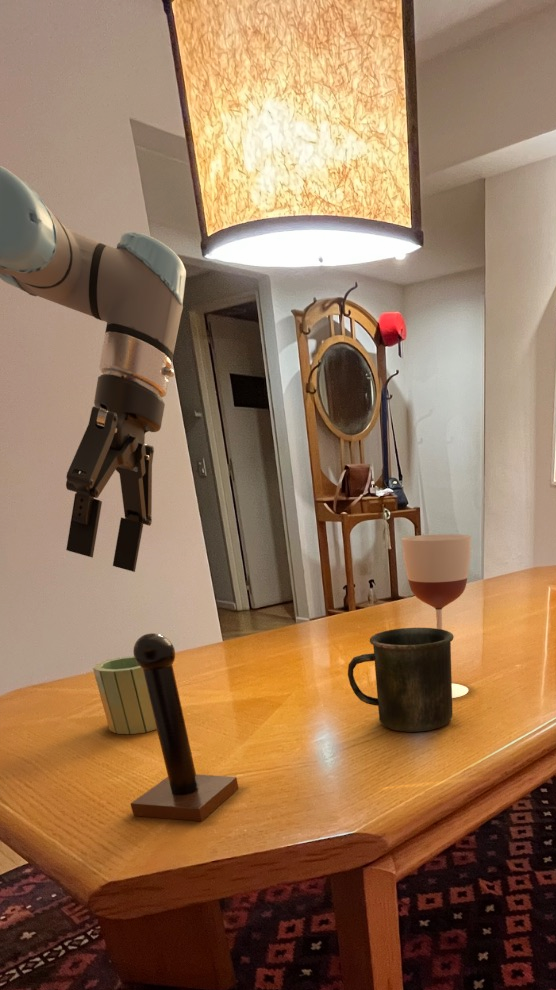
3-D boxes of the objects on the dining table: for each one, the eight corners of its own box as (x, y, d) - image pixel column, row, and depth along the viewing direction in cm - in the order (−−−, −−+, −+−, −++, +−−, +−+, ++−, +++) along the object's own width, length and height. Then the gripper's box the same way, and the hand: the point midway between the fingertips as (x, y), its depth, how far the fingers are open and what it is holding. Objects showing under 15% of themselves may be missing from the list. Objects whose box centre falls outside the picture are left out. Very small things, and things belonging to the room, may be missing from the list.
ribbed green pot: (97, 732, 95) (80, 670, 91) (132, 714, 102) (118, 655, 98) (148, 735, 93) (132, 672, 89) (180, 716, 100) (167, 656, 96)
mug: (462, 730, 91) (460, 642, 86) (355, 740, 89) (346, 650, 84) (448, 705, 101) (445, 625, 96) (350, 714, 99) (342, 632, 93)
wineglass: (475, 698, 104) (473, 539, 94) (410, 701, 103) (402, 541, 93) (469, 681, 112) (467, 533, 102) (409, 684, 112) (401, 535, 101)
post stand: (133, 816, 71) (86, 642, 63) (175, 784, 78) (138, 624, 70) (201, 821, 70) (163, 644, 61) (238, 788, 77) (208, 625, 68)
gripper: (125, 351, 71) (91, 555, 74) (192, 430, 95) (164, 581, 99) (51, 327, 70) (20, 536, 73) (138, 413, 94) (112, 566, 98)
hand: (103, 562), depth 86 cm, fingers open, 13 cm apart
